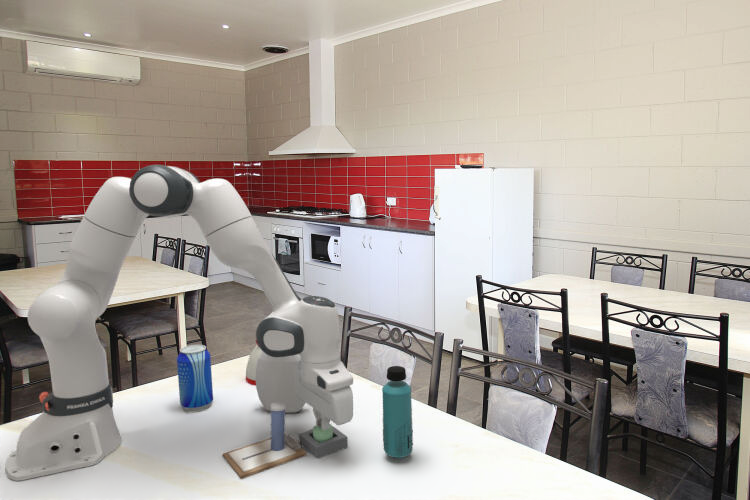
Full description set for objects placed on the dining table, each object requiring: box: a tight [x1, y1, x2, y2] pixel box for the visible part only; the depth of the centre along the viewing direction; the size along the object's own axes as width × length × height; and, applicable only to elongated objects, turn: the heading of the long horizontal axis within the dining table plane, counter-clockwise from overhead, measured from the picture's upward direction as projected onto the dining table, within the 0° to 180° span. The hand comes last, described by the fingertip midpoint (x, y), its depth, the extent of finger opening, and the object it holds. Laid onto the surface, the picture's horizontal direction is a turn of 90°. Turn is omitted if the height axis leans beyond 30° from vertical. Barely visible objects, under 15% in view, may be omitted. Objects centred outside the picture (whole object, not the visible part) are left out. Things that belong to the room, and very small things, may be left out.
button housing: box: [298, 423, 349, 459], centre depth 120 cm, size 8×8×2 cm
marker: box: [270, 401, 286, 451], centre depth 117 cm, size 3×3×10 cm
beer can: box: [176, 344, 214, 413], centre depth 141 cm, size 8×8×16 cm
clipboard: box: [221, 433, 308, 479], centre depth 116 cm, size 15×11×1 cm
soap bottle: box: [255, 311, 306, 414], centre depth 137 cm, size 14×8×27 cm, turn 79°
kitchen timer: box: [245, 339, 262, 387], centre depth 160 cm, size 14×14×15 cm
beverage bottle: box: [381, 365, 414, 458], centre depth 113 cm, size 6×7×20 cm
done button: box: [312, 424, 334, 443], centre depth 120 cm, size 4×4×4 cm
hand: (323, 428), depth 119 cm, fingers closed, pressing on done button
